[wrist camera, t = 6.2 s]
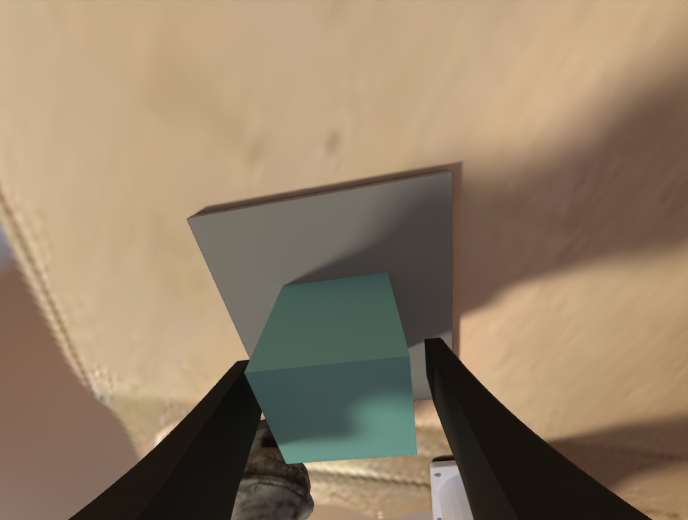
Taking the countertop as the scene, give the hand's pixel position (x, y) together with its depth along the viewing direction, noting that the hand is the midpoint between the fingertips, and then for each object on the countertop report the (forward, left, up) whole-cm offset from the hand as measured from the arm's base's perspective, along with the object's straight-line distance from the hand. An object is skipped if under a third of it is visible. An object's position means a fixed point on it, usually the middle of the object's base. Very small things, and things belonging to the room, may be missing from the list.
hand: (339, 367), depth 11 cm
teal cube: (0, 0, -3) cm, 3 cm away
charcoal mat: (0, 0, -3) cm, 3 cm away
